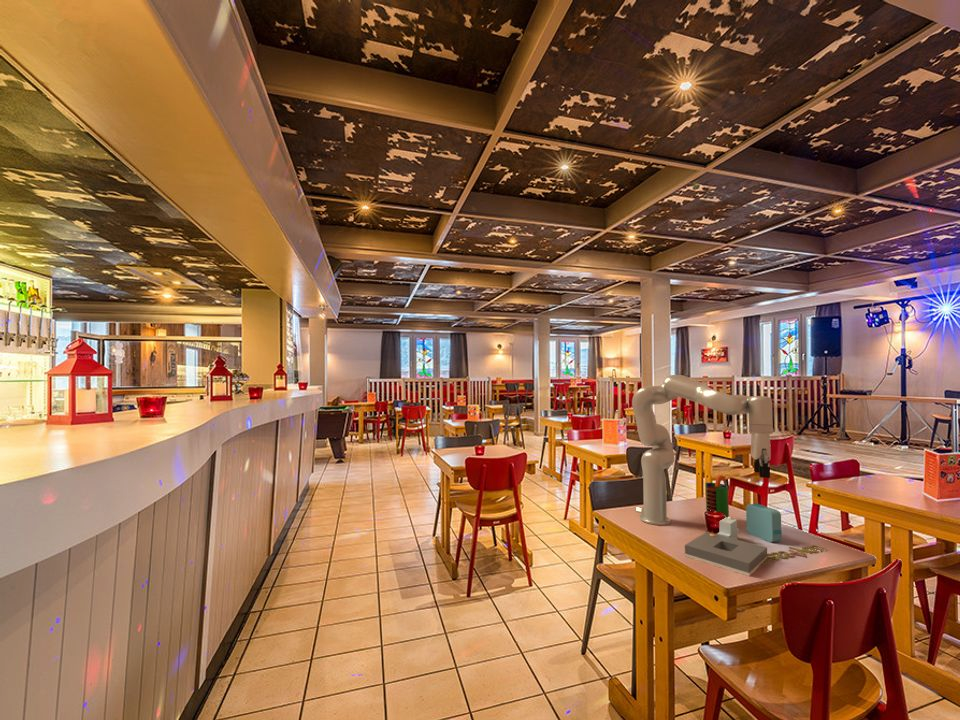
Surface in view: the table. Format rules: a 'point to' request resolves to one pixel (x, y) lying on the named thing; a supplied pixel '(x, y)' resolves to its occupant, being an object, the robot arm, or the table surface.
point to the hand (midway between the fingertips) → (761, 474)
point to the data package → (763, 522)
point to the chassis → (726, 553)
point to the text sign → (793, 553)
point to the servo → (728, 528)
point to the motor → (717, 496)
